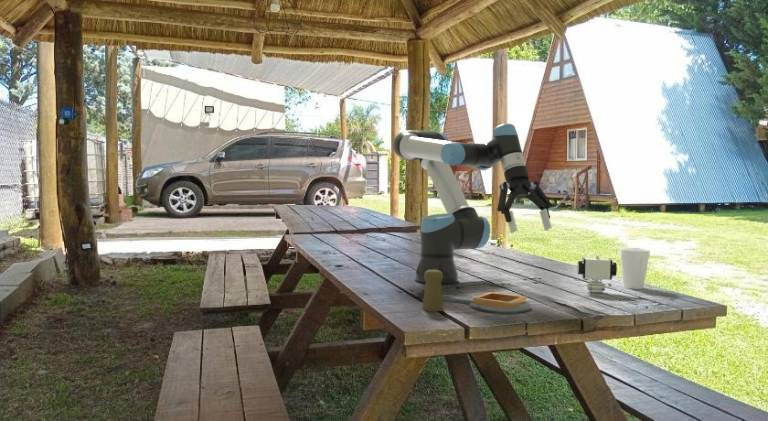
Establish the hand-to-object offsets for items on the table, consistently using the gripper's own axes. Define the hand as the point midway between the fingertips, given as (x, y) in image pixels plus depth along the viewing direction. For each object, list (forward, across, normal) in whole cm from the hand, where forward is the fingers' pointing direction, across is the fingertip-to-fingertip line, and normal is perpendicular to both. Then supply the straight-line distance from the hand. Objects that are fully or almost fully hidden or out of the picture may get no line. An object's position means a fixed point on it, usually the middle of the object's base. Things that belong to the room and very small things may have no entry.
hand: (531, 230), depth 200 cm
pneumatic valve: (+22, +22, +3) cm, 31 cm away
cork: (+21, -41, 0) cm, 46 cm away
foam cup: (+22, +40, +5) cm, 46 cm away
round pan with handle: (+20, -26, +3) cm, 33 cm away
